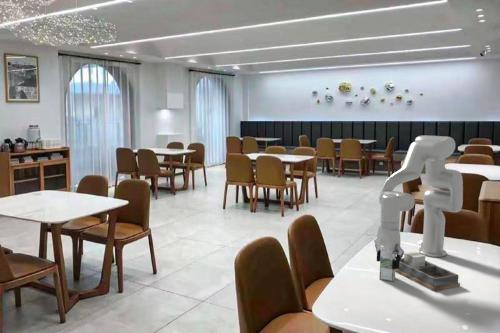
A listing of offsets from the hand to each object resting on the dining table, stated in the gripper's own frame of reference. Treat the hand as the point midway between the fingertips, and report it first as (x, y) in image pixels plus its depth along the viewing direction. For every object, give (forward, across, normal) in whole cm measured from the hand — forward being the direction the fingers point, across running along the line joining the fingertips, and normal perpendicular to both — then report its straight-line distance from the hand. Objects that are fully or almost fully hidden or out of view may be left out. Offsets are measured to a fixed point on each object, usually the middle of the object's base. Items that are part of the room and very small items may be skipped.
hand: (387, 264), depth 184 cm
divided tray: (+6, +5, +15) cm, 17 cm away
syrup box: (+6, 0, 0) cm, 6 cm away
